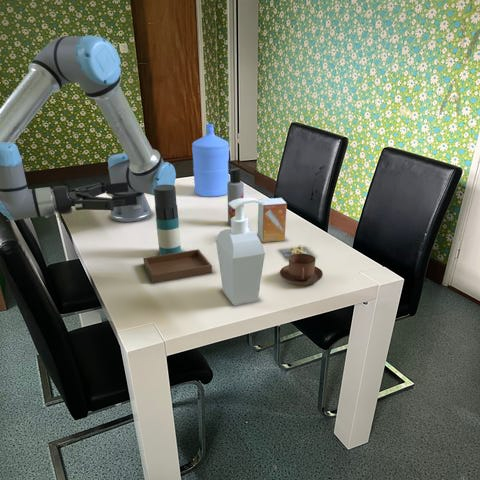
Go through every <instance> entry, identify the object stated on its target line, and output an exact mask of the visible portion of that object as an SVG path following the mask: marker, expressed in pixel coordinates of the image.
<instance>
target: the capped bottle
mask: <svg viewBox="0 0 480 480" xmlns="http://www.w3.org/2000/svg"><path fill="white" fill-rule="evenodd" d="M179 221H180V220H179V216H178V217H177V218H175V219H173V220H159V219H157V218H156V217H155V222H156V233H157V243H158V244H157V245H158V250H159V255H165V254H172V253H178V252H182V248H181V247H182V245H181V243H182V242H181V233H180V232H181V231H180V222H179Z"/></svg>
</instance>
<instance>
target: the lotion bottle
mask: <svg viewBox="0 0 480 480" xmlns="http://www.w3.org/2000/svg"><path fill="white" fill-rule="evenodd" d="M241 176H242V173H241V169H240V167H233V168H231V169H229V182H228V183H227V194H226V195H227V224H228V225H229V226H230V227H231V218H233V217H235V209H233V208H232V207H231V206H230V205H229V204H228V203H229V202H231V201H233V200H236V199H239V198H244V182H243V181H242V177H241Z"/></svg>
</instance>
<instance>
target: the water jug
mask: <svg viewBox="0 0 480 480" xmlns="http://www.w3.org/2000/svg"><path fill="white" fill-rule="evenodd" d="M205 126H206V127H205V132H206V134H205V135H203V136H202V137H200V138H197V139H196V140H194V141H193V142H192V143H191V145H192V147H191V150H192V151H191V152H192V165H193V168H192V170H193V181H194V182H193V183H194V186H193V187H194V189H193V190H194V193H195V194H196V195H198V196H200V197H205V198H206V197H207V198H208V197H209V198H211V197H212V198H216V197H222V196H225V195H228V194H227V183H228V182H230V174H229V159H230V144H229V142H228V141H227V139H223V138H222V137H220V136H218V135H215V132H214V130H215V129H214V123H205Z"/></svg>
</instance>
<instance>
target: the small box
mask: <svg viewBox="0 0 480 480" xmlns="http://www.w3.org/2000/svg"><path fill="white" fill-rule="evenodd" d="M258 200H260V201H262V202H263V204H259V203H257V236H258V238H259V239H260V242H261V243H271V242H282V241H283V242H284V241H286V226H287V225H286V224H287V208H288V204H287V202H286V201H285V199H283V197H275V198H272V197H271V198H270V197H269V198H262V199H258Z"/></svg>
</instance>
